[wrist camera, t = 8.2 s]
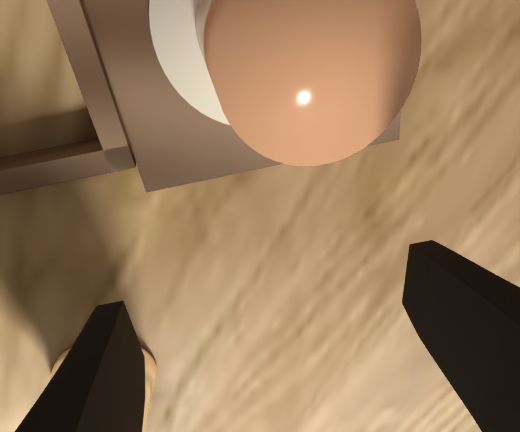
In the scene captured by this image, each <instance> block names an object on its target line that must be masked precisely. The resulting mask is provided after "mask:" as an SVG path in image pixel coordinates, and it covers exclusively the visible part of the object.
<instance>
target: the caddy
mask: <svg viewBox="0 0 520 432" xmlns="http://www.w3.org/2000/svg"><path fill="white" fill-rule="evenodd" d="M198 1H199V0H47V2H48V5H49V8H50V10H51V13H52V16H53V18H54V21H55V24H56V26H57V29H58V32H59V34H60V37H61V40H62V42H63V45H64V47H65V50H66V53H67V55H68V58H69V61H70V63H71V66H72V69H73V71H74V74H75V77H76V79H77V82H78V85H79V87H80V90H81V93H82V95H83V98H84V101H85V103H86V106H87V109H88V111H89V114H90V117H91V119H92V122H93V124H94V127H95V130H96V132H97V135H98V138H99V139H95V140H90V141H85V142H80V143H74V144H69V145H64V146H59V147H54V148H49V149H44V150H39V151H34V152H29V153H24V154H19V155H13V156H8V157H3V158H0V195H2V194H7V193H12V192H17V191H22V190H27V189H32V188H36V187H41V186H46V185H51V184H56V183H61V182H66V181H71V180H76V179H81V178H85V177H90V176H95V175H100V174H105V173H110V172H115V171H120V170H125V169H130V168H135V167H136V163H137V166H138V169H139V172H140V175H141V178H142V181H143V184H144V187H145V190H146V192H151V191H155V190H160V189H165V188H170V187H175V186H179V185H184V184H189V183H194V182H198V181H203V180H208V179H213V178H218V177H222V176H227V175H232V174H237V173H241V172H246V171H251V170H256V169H261V168H265V167H270V166H275V165H280V164H284V163H280V162H276V161H274V160H271V159H269V158H267V157H265V156H263V155H261V154H260V153H258V152H256V151H255V150H253V149H252V148H251V147H250V146H248V145H247V144H246V143H245V142H244V141H243V140H242V139H241V138H240V137H239V136H238V135H237V134H236V132H235V131H234V129H233V128H232V127H231V125H230V124H229V122H228V120H227V118H226V116H225V115H224V113H223V110H222V108H221V105H220V102H219V100H218V97H217V94H216V91H215V89H214V86H213V83H212V81H211V78H210V75H209V72H208V70H207V67H206V64H205V62H204V59H203V56H202V53H201V51H200V48H199V45H198V41H197V36H196V11H197V5H198ZM400 114H401V110H400V111H399V113H398V114H397V116H396V117H395V119H394V120H393V121H392V122H391V124H390V125H389V126H388V127H387V128H386V129H385V130H384V131H383V132H382V133H381V134H380V135H379V136H378V137H377V138H376V139H375V140H373V141H372V142H371V143H370V144H368V145H367V146H370V145H375V144H380V143H385V142H390V141H394V140H399V133H400Z"/></svg>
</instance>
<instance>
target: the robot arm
mask: <svg viewBox="0 0 520 432" xmlns="http://www.w3.org/2000/svg"><path fill="white" fill-rule="evenodd" d="M402 304H403V306H404V308H405V310H406V312H407V314H408V316H409V318H410V320H411V322H412V324H413V326H414V328H415V330H416V332H417V334H418V336H419V338H420V339H421V341H422V342H423V344H424V345H425V347H426V348H427V350H428V351H429V353H430V354H431V356H432V357H433V359H434V360H435V362H436V363H437V365H438V366H439V368H440V369H441V371H442V372H443V374H444V375H445V377H446V378H447V380H448V381H449V382H450V384H451V385H452V387H453V388H454V390H455V391H456V393H457V394H458V396H459V397H460V399H461V400H462V402H463V403H464V405H465V406H466V408H467V409H468V410H469V412H470V413H471V415H472V416H473V418H474V420H475V421H476V423H477V424H478V426H479V428H480V429H481V431H482V432H520V287H518V286H516V285H514V284H512V283H510V282H508V281H506V280H505V279H503V278H501V277H499V276H497V275H495V274H494V273H492V272H490V271H488V270H486V269H484V268H483V267H481V266H479V265H477V264H476V263H474V262H472V261H470V260H468V259H467V258H465V257H463V256H461V255H459V254H458V253H456V252H454V251H452V250H450V249H448V248H447V247H445V246H443V245H441V244H439V243H437V242H435V241H433V240H430V241H425V242H420V243H415V244H410V246H409V253H408V261H407V269H406V276H405V284H404V292H403V299H402ZM144 407H145V357H144V354H143V351H142V349H141V346H140V343H139V341H138V338H137V336H136V333H135V330H134V328H133V325H132V322H131V320H130V317H129V314H128V312H127V309H126V307H125V304H124V301H119V302H114V303H109V304H104V305H99V306H97V307H96V308H95V309H94V311H93V312H92V314H91V316H90V317H89V319H88V321H87V322H86V324H85V326H84V327H83V329H82V331H81V332H80V334H79V336H78V337H77V339H76V341H75V342H74V344H73V346H72V347H71V349H70V350H69V352H68V354H67V355H66V357H65V359H64V360H63V362H62V363H61V365H60V366H59V368H58V369H57V371H56V372H55V374H54V376H53V377H52V379H51V380H50V382H49V383H48V385H47V386H46V388H45V389H44V391H43V392H42V394H41V395H40V397H39V398H38V400H37V401H36V402H35V404H34V405H33V407H32V408H31V409H30V411H29V412H28V414H27V415H26V417H25V418H24V419H23V421H22V422H21V424H20V425H19V426H18V428H17V429H16V431H15V432H142V427H143V417H144Z"/></svg>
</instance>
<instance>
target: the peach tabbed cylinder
mask: <svg viewBox="0 0 520 432" xmlns="http://www.w3.org/2000/svg"><path fill="white" fill-rule="evenodd" d="M196 36H197V41H198V45H199V48H200V51H201V53H202V56H203V59H204V62H205V64H206V67H207V70H208V72H209V75H210V78H211V81H212V83H213V86H214V89H215V91H216V94H217V97H218V100H219V102H220V105H221V108H222V110H223V113H224V115H225V116H226V118H227V120H228V122H229V124H230V125H231V127H232V128H233V129H234V131H235V132H236V134H237V135H238V136H239V137H240V138H241V139H242V140H243V141H244V142H245V143H246V144H247V145H248V146H250V147H251V148H252V149H253V150H255V151H256V152H258V153H260V154H261V155H263V156H265V157H267V158H269V159H271V160H274V161H276V162H280V163H284V164H287V165H295V166H316V165H324V164H328V163H332V162H335V161H338V160H341V159H344V158H346V157H348V156H350V155H352V154H354V153H356V152H358V151H359V150H361V149H362V148H364V147H366V146H367V145H368V144H370V143H371V142H372V141H373V140H375V139H376V138H377V137H378V136H379V135H380V134H381V133H382V132H383V131H384V130H385V129H386V128H387V127H388V126H389V125H390V124H391V122H392V121H393V120H394V119H395V117H396V116H397V114H398V113H399V111H400V110H401V108H402V107H403V105H404V103H405V101H406V99H407V97H408V96H409V94H410V91H411V89H412V86H413V83H414V81H415V77H416V74H417V70H418V67H419V60H420V54H421V26H420V19H419V14H418V10H417V7H416V4H415V1H414V0H199V1H198V5H197V11H196Z"/></svg>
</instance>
